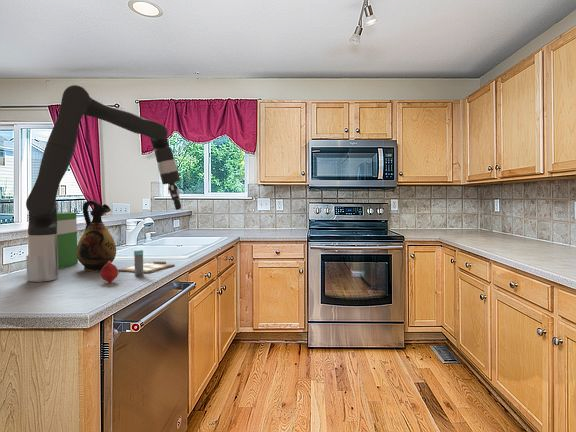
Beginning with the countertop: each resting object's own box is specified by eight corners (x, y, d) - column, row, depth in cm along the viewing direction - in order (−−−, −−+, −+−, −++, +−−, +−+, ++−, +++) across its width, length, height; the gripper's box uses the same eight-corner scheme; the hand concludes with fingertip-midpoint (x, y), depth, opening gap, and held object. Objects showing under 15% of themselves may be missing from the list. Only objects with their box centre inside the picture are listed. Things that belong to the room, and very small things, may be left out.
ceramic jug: (124, 266, 172) (122, 199, 170) (101, 273, 157) (99, 200, 155) (90, 265, 175) (88, 199, 173) (65, 272, 160) (62, 200, 158)
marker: (139, 276, 150) (138, 251, 150) (132, 276, 152) (132, 250, 151) (145, 275, 154) (145, 250, 153) (138, 274, 155) (138, 249, 154)
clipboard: (147, 273, 156) (147, 269, 156) (118, 271, 161) (118, 266, 161) (174, 266, 173) (174, 262, 173) (147, 264, 178) (147, 260, 178)
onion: (109, 285, 136) (108, 262, 136) (97, 283, 138) (96, 261, 138) (121, 281, 142) (121, 260, 141) (109, 280, 144) (109, 259, 143)
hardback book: (54, 270, 164) (52, 214, 162) (37, 270, 164) (35, 214, 163) (77, 263, 181) (76, 212, 180) (62, 263, 181) (60, 212, 180)
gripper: (160, 174, 169) (170, 209, 171) (158, 173, 155) (169, 212, 157) (178, 170, 170) (187, 205, 173) (177, 169, 157) (187, 207, 159)
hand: (178, 208), depth 165 cm, fingers open, 8 cm apart
